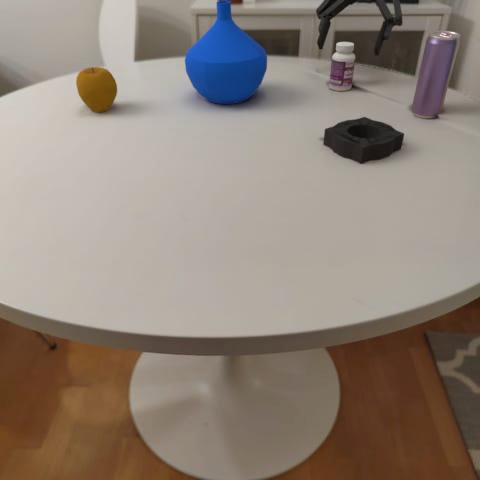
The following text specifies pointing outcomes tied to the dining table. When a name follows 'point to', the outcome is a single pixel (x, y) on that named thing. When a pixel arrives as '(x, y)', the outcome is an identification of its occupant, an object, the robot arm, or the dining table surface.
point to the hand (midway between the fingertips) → (347, 49)
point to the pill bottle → (342, 67)
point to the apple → (96, 88)
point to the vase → (226, 61)
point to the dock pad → (363, 139)
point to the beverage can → (435, 73)
